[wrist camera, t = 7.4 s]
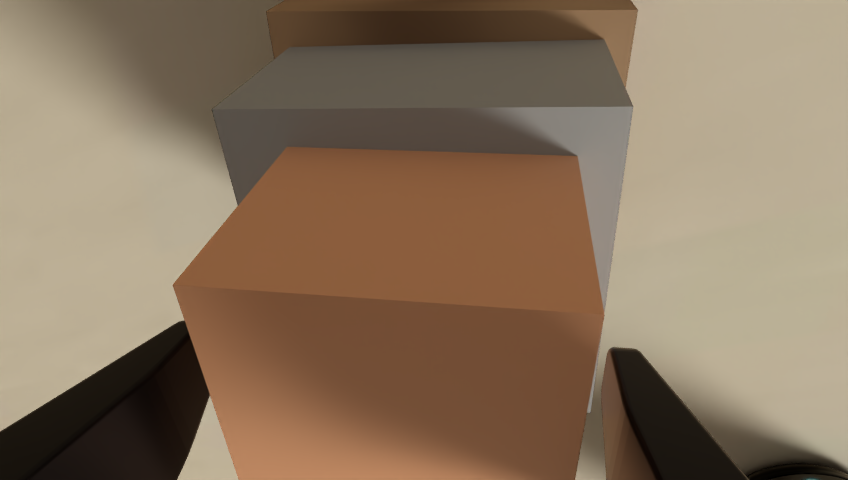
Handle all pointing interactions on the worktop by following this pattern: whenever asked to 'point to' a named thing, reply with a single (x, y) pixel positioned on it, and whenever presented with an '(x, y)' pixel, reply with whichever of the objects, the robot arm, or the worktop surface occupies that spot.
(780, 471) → the supplement container
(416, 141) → the slate top block
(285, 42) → the walnut base block
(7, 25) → the worktop surface
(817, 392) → the worktop surface
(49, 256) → the worktop surface
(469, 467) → the terracotta block
